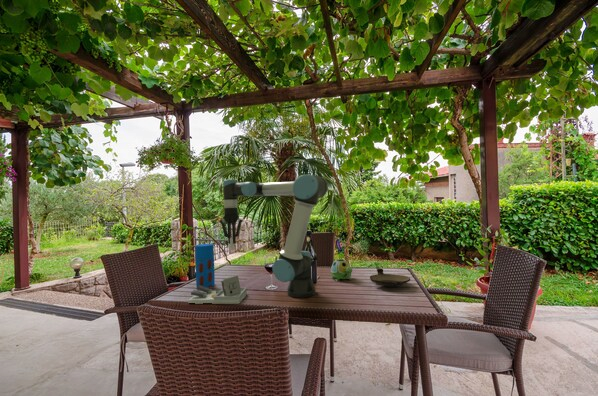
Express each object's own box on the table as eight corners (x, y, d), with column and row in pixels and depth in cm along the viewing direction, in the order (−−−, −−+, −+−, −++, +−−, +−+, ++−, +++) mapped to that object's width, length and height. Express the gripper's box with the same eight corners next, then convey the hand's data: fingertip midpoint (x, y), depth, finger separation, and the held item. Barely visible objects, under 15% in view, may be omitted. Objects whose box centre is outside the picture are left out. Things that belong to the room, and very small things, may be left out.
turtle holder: (341, 284, 175) (341, 264, 176) (327, 277, 192) (327, 259, 192) (359, 281, 180) (358, 262, 180) (344, 275, 197) (343, 257, 197)
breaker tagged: (207, 293, 155) (193, 290, 156) (205, 295, 152) (191, 291, 153) (207, 295, 155) (193, 292, 156) (205, 297, 152) (190, 294, 153)
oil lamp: (369, 291, 161) (369, 277, 161) (369, 277, 190) (369, 265, 190) (413, 293, 156) (412, 278, 156) (406, 278, 185) (406, 265, 185)
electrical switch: (227, 297, 151) (225, 279, 152) (221, 297, 154) (219, 279, 155) (241, 293, 158) (240, 275, 159) (235, 292, 162) (234, 275, 162)
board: (246, 294, 163) (246, 287, 163) (239, 303, 148) (239, 296, 148) (200, 294, 165) (200, 288, 165) (188, 303, 150) (188, 296, 150)
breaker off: (212, 289, 162) (199, 285, 162) (210, 291, 159) (197, 286, 159) (211, 292, 162) (198, 287, 162) (209, 293, 159) (196, 289, 159)
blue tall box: (218, 285, 182) (216, 244, 182) (202, 289, 174) (200, 246, 174) (208, 282, 189) (207, 243, 190) (192, 286, 182) (191, 245, 182)
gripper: (244, 206, 170) (245, 248, 169) (221, 207, 170) (223, 248, 170) (240, 207, 162) (242, 250, 162) (217, 207, 163) (218, 251, 163)
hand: (232, 249), depth 166 cm, fingers closed
